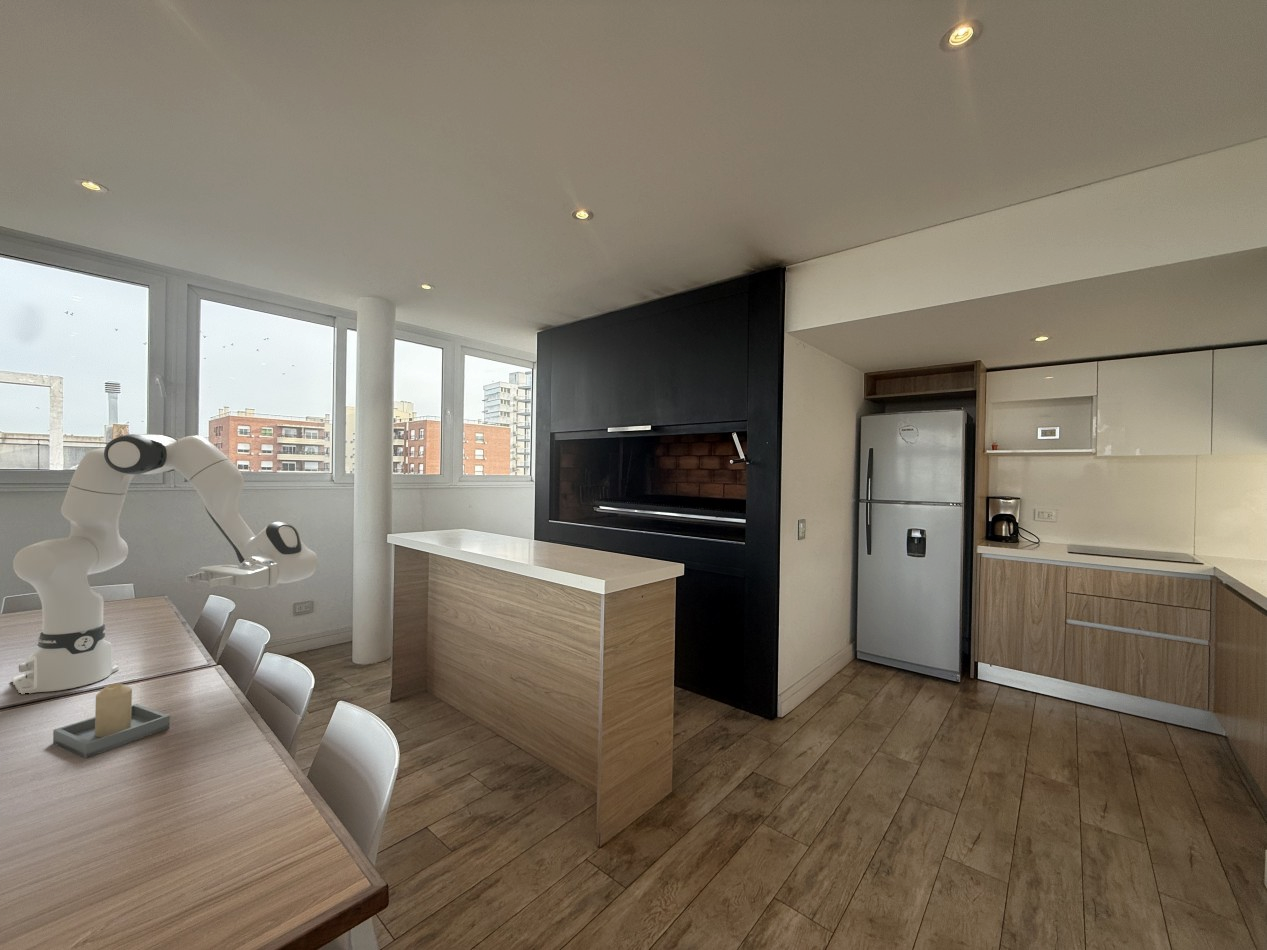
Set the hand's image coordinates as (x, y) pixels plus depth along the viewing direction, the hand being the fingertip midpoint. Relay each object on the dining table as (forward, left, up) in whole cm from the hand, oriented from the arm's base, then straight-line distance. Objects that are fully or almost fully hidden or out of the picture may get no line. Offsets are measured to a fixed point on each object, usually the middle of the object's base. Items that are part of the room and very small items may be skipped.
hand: (198, 581), depth 129 cm
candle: (+4, -17, -29) cm, 34 cm away
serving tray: (+4, -17, -30) cm, 35 cm away
